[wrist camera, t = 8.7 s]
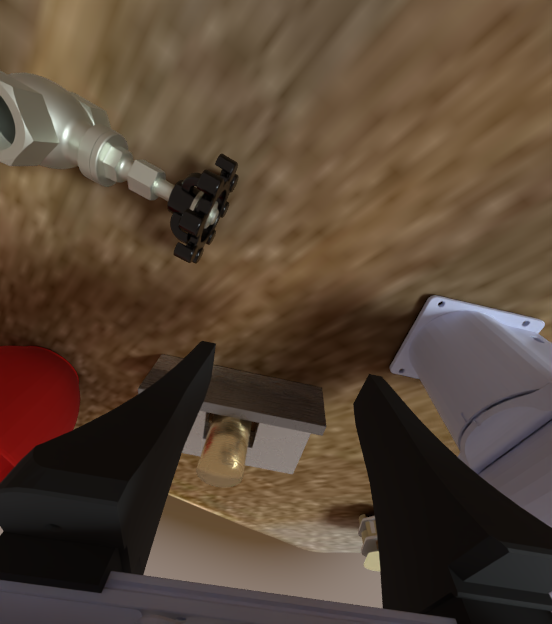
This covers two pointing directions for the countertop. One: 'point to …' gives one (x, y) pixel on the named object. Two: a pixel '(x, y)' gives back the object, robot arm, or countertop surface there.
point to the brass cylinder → (224, 451)
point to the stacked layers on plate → (369, 542)
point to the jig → (255, 413)
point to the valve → (105, 156)
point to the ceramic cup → (34, 401)
